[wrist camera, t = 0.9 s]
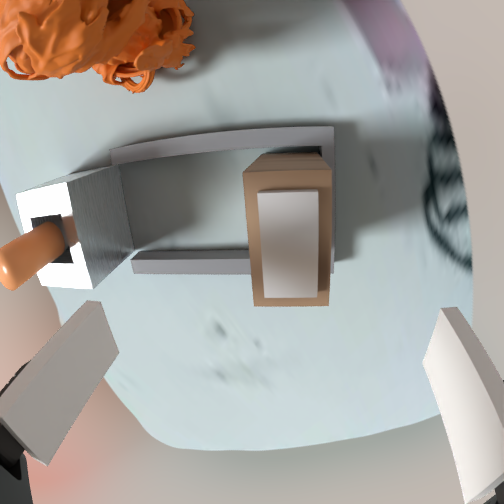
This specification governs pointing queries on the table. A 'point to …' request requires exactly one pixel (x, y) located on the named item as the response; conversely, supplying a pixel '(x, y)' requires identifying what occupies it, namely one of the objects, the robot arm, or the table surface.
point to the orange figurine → (94, 38)
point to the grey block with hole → (81, 225)
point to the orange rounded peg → (30, 254)
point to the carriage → (289, 228)
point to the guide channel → (218, 142)
